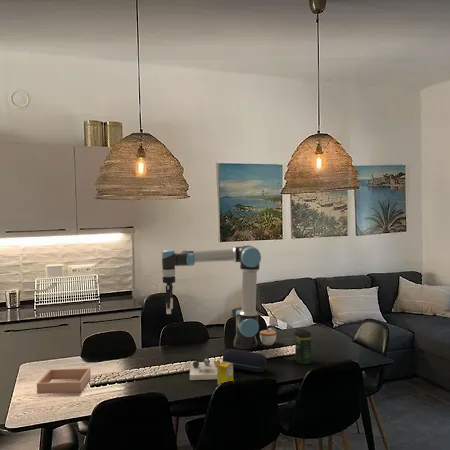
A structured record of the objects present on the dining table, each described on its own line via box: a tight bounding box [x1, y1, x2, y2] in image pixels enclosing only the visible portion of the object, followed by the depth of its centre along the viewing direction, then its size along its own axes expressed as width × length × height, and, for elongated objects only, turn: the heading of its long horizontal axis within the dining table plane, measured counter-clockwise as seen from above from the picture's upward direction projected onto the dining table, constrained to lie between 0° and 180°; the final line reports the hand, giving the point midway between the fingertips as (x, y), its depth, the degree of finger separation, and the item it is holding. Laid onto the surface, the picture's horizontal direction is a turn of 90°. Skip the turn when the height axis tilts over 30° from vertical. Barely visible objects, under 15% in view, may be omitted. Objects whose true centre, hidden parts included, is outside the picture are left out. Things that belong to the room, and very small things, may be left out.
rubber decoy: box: [192, 360, 200, 367], centre depth 258 cm, size 3×3×3 cm
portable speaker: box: [222, 348, 267, 373], centre depth 261 cm, size 25×10×10 cm, turn 59°
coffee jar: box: [294, 328, 312, 365], centre depth 272 cm, size 10×8×19 cm
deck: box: [189, 361, 223, 381], centre depth 257 cm, size 20×18×2 cm
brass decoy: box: [213, 359, 221, 366], centre depth 260 cm, size 3×3×3 cm
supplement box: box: [216, 361, 234, 386], centre depth 238 cm, size 6×6×11 cm
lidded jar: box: [259, 328, 277, 346], centre depth 308 cm, size 11×11×9 cm
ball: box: [203, 358, 211, 365], centre depth 262 cm, size 3×3×3 cm
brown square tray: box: [36, 367, 91, 395], centre depth 241 cm, size 21×20×5 cm
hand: (169, 311), depth 286 cm, fingers open, 13 cm apart
